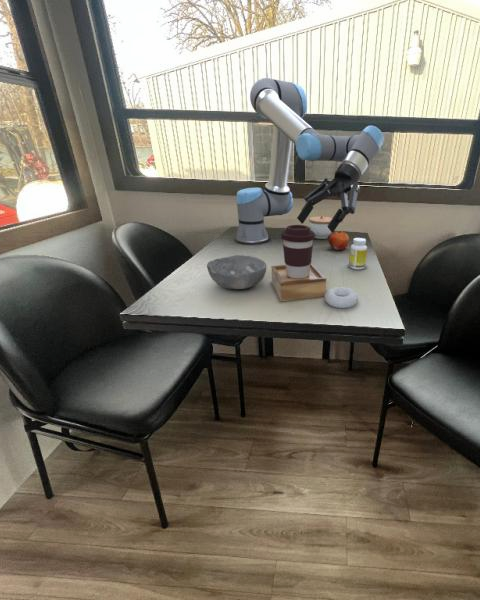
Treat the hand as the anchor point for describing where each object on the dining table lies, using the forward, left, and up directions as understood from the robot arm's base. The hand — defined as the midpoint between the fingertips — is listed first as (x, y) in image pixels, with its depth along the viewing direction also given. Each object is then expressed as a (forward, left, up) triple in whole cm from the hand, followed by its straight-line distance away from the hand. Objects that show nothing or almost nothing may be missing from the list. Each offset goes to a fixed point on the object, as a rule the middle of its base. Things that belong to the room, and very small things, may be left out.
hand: (314, 225), depth 90 cm
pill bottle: (-11, +22, -20) cm, 32 cm away
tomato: (-35, +24, -20) cm, 47 cm away
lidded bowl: (-56, +23, -20) cm, 64 cm away
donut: (+15, +4, -20) cm, 25 cm away
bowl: (-4, -23, -20) cm, 31 cm away
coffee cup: (+3, -6, -15) cm, 16 cm away
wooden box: (+3, -6, -20) cm, 21 cm away
